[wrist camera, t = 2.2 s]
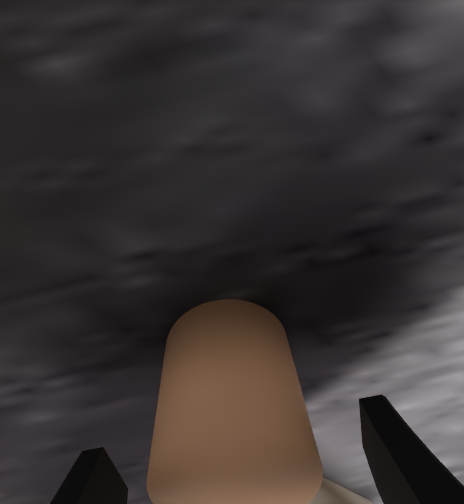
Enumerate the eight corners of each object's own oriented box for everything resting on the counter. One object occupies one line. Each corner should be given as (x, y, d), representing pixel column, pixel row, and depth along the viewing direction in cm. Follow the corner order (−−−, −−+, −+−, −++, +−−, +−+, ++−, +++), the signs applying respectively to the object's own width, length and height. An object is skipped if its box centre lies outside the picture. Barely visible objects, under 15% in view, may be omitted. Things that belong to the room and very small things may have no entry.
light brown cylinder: (141, 358, 14) (111, 497, 10) (217, 276, 13) (223, 397, 8) (234, 407, 16) (244, 547, 11) (312, 339, 14) (359, 471, 10)
